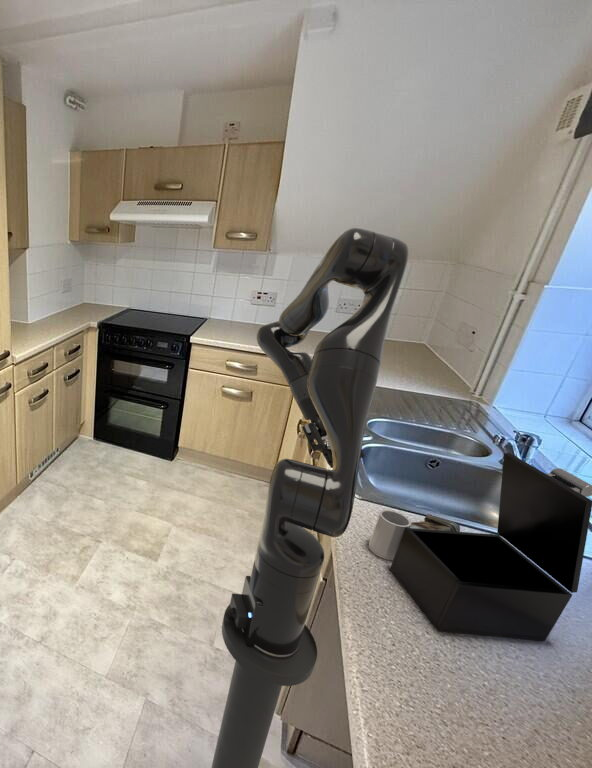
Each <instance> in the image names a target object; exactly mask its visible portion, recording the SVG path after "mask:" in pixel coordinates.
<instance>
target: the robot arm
mask: <svg viewBox="0 0 592 768" xmlns="http://www.w3.org/2000/svg"><path fill="white" fill-rule="evenodd" d="M409 253H410V252H409V247H408V245H407V243H406V242H404V241H403V240H401V239H398V238H396V237H393V236H390V235H386V234H383V233H380V232H376V231H371V230H369V229H365V228H361V227H351V228H349V229H347V230H345V231H344V232H343V233H341V234H340V235H339V236H338V237H337V239H336V240H335V241H334V242H333V243H332V245H331V246H330V247H329V248H328V250H327V252H325V254H324V256H323V257H322V259H321V260H320V262H319V263H318V265H317V266H316V267H315V269H314V270H313V272H312V274H311V275H310V277H309V278H308V280H307V281H306V283H305V284H304V286H303V288H301V291H300V292H299V294H298V295H297V296H296V297H295V298H294V299H293V300H292V301H291V302H290V303H289V305H287V306H286V307H285V309H284V310H283V311H282V312H281V314H279V315H280V316H279V318H278V320H276V321H273V322H270V323H267V324H264V325H262V326H260V327H259V329H258V330H257V333H256V341H257V344H258V346H259V348H260V349H261V351H262V352H263V353H264V354H265V355H266V356H267V357H268V358H269V359H270V361H272V363H273V364H274V365H275V366H276V367H277V368H278V369H279V370H280V372H281V373H282V375H283V377H284V379H285V381H286V383H287V385H288V387H289V389H290V393H291V396H292V397H293V400H294V401H295V403H296V404H297V406H298V408H299V410H300V412H301V415H302V416H303V418H304V420H306V421H310V422H309V423H306V424H303V425H302V426H301V429H302V431H303V433H304V435H305V437H306V440H307V441H308V444H309V446H310V448H311V450H312V451H313V452H319V453H322V455H323V457H324V459H325V461H326V463H327V465H328V466H329V467H330V468H331V469H329V468H328V469H327V468H325V467H321V466H317V465H314V464H310V463H306V462H304V461H300V460H296V459H291V458H282V459H280V460H279V461H277V463H276V464H275V466H274V467H273V470H272V472H271V475H270V478H269V484H268V488H267V495H266V502H265V510H264V515H263V521H262V525H261V530H260V534H259V537H258V541H257V547H256V551H255V556H254V560H253V565H252V569H251V574H250V575H246V576H245V577H244V580H243V581H244V582H243V586H242V591H241V593H233V592H232V593H231V597H230V602H229V605H230V606H231V609H229V610H228V611H227V612H226V618H227V619H228V621H229V622H230V623H234V620H235V624H236V627H237V628H241V631H242V634H243V637H244V640H245V643H246V646H247V647H252V648H255V649H256V650H257V651H259V652H260V653H262V654H264V655H266V656H269V657H272V658H276V659H286V658H290V657H292V656H293V655H295V654H296V652H297V651H298V648H299V644H300V639H301V635H302V632H303V628H304V625H306V621H307V618H308V615H309V613H310V608H311V604H312V601H313V599H314V595H315V593H316V592H315V591H316V588H317V585H318V581H319V578H320V575H321V571H322V568H323V565H324V561H325V551H324V547H323V545H322V544H321V542H320V540H318V538H316V537H315V535H314V534H313V533H311V531H313V532H314V533H315V532H316V533H318V534H320V535H324V536H327V537H331V538H340V537H341V536H342V535H343V534H344V533H345V532H346V531H347V529H348V526H349V524H350V521H351V518H352V513H353V509H354V504H355V503H354V502H355V498H356V491H357V485H358V476H359V469H360V461H361V459H362V458H365V457H366V453H365V452H364V450H363V442H364V436H365V431H366V426H367V422H368V419H369V414H370V409H371V406H372V402H373V399H374V394H375V390H376V387H377V382H378V379H379V373H380V369H381V363H382V357H383V352H384V351H383V350H384V345H385V340H386V335H387V331H388V327H389V322H390V318H391V315H392V312H393V308H394V305H395V302H396V299H397V296H398V293H399V290H400V287H401V284H402V282H403V278H404V275H405V272H406V269H407V265H408V260H409ZM331 282H336V283H338V284H341V285H343V286H346V287H350V288H354V289H357V290H360V291H362V293H363V300H362V303H361V304H360V307H359V308H358V310H356V311H355V312H354V313H353V314H352V315H351V316H350V317H349V318H347V319H346V320H344V321H343V322H342V323H340V324H339V325H338V326H337V327H335V328H334V329H332V330H331V331H330V332H328V334H326V335H325V336H324V337H323V338H322V339H321V340H320V341H319V342H318V344H317V345H316V348H315V349H314V351H313V356H312V357H311V355H310V354H309V353H308V352H306V351H305V352H304V351H301V352H293V351H291V350H289V349H288V348H292V347H295V346H297V345H299V344H301V343H302V342H303V341H305V339H306V338H307V336H308V334H309V332H310V330H312V329H313V328H314V327H315V326H316V325H318V324H319V323H320V322H321V321H322V320H323V319H324V317H325V316H326V315H327V313H328V309H329V306H330V305H329V304H330V298H329V297H330V296H329V284H330V283H331ZM315 441H316V442H315ZM316 443H317V444H316ZM232 615H233V617H234V619H233V617H232Z"/></svg>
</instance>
